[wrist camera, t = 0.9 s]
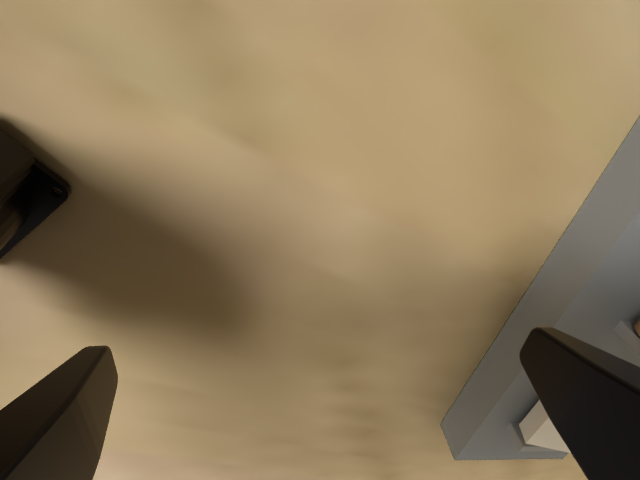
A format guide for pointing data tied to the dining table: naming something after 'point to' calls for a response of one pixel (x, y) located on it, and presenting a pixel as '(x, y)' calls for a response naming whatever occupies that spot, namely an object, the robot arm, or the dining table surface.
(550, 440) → the rocker switch
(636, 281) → the long grey mounting plate
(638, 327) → the walnut lever
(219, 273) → the dining table surface
